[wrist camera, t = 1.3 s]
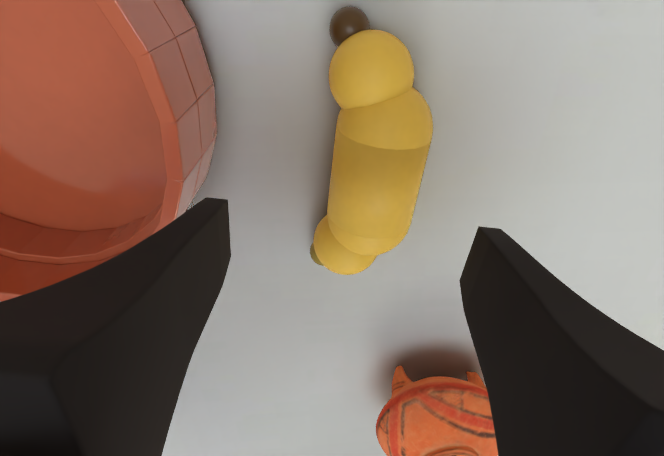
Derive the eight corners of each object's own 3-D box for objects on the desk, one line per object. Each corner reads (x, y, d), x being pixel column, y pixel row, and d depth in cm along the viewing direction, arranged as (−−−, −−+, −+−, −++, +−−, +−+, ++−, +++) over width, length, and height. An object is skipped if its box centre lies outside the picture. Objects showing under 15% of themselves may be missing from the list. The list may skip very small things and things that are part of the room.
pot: (347, 400, 30) (356, 491, 24) (411, 318, 28) (440, 394, 21) (438, 441, 32) (469, 535, 25) (505, 366, 29) (557, 450, 23)
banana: (392, 261, 23) (397, 311, 20) (310, 252, 23) (303, 302, 20) (448, 15, 16) (470, 34, 13) (332, 1, 16) (326, 17, 13)
